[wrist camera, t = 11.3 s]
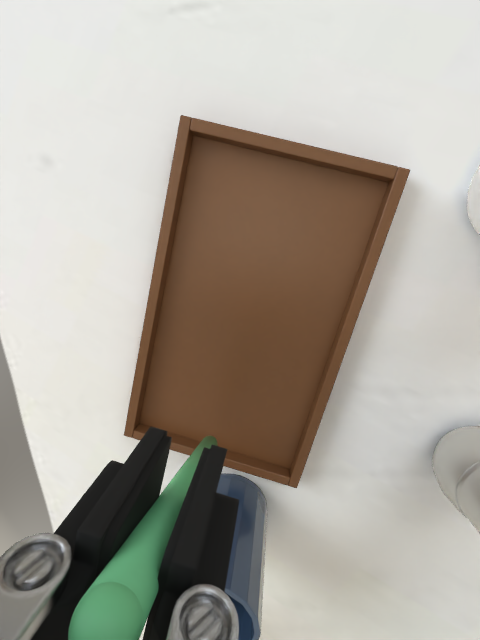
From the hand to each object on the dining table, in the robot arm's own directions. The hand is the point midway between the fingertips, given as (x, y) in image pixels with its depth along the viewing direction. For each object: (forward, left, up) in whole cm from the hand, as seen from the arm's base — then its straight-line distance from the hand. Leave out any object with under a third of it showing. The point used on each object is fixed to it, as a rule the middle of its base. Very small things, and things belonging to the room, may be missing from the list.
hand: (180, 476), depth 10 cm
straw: (0, +3, -13) cm, 13 cm away
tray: (0, -1, -17) cm, 17 cm away
